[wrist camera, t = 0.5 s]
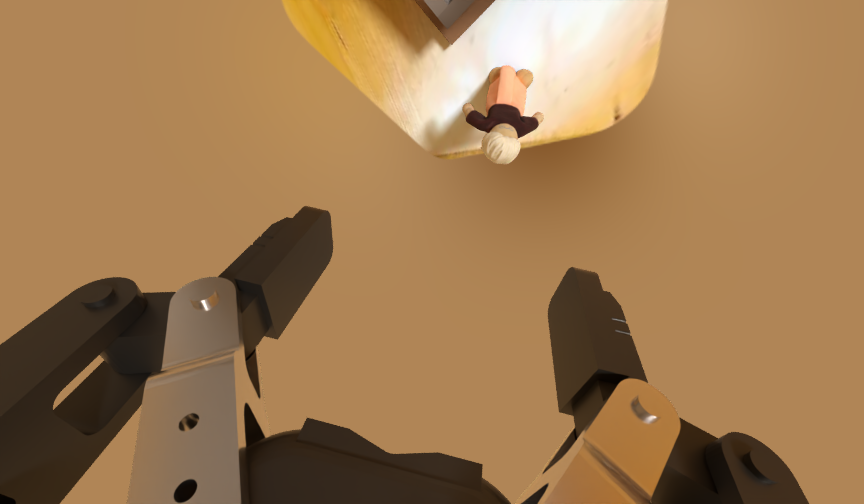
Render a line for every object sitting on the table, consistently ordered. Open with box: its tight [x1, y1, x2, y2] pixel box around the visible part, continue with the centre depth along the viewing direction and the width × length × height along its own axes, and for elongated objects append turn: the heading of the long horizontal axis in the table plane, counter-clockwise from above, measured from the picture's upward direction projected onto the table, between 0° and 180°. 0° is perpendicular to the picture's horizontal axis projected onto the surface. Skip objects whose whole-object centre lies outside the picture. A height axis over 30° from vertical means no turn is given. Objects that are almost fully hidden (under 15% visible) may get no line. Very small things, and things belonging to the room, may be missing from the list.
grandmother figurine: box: [463, 65, 544, 164], centre depth 30 cm, size 8×4×13 cm, turn 98°
